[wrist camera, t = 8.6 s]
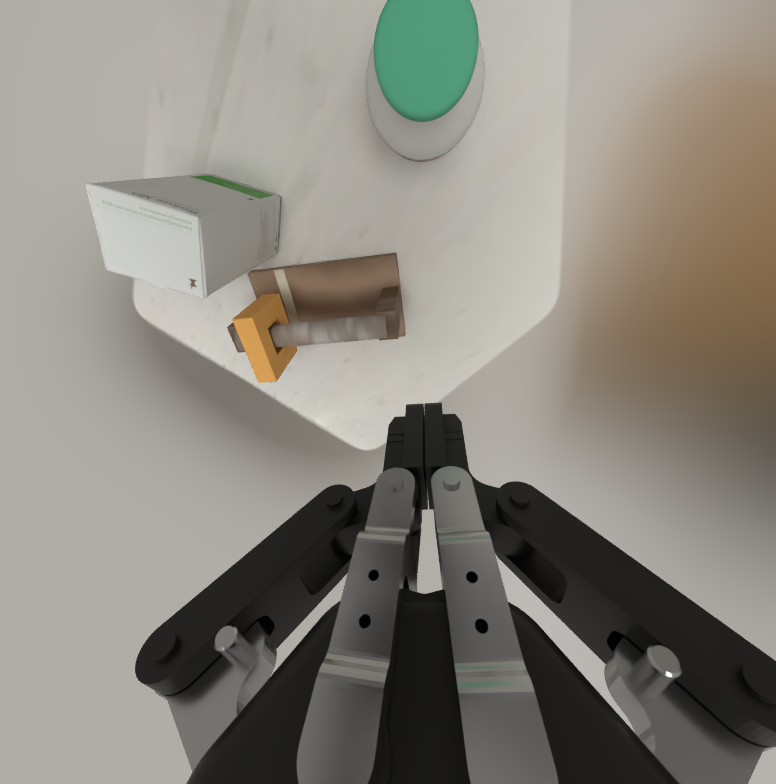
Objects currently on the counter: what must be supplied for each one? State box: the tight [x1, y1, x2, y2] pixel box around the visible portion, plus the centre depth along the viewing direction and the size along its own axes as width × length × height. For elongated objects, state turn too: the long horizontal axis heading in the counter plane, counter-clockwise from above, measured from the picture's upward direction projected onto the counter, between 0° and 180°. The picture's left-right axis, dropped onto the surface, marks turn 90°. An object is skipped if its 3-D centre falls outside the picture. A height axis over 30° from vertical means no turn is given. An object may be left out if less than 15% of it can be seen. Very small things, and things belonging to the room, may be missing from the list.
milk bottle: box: [366, 0, 485, 162], centre depth 22 cm, size 8×8×20 cm
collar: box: [232, 293, 297, 383], centre depth 35 cm, size 7×2×7 cm, turn 8°
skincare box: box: [85, 174, 281, 298], centre depth 31 cm, size 8×7×16 cm
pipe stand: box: [227, 253, 405, 352], centre depth 38 cm, size 10×18×10 cm, turn 98°
